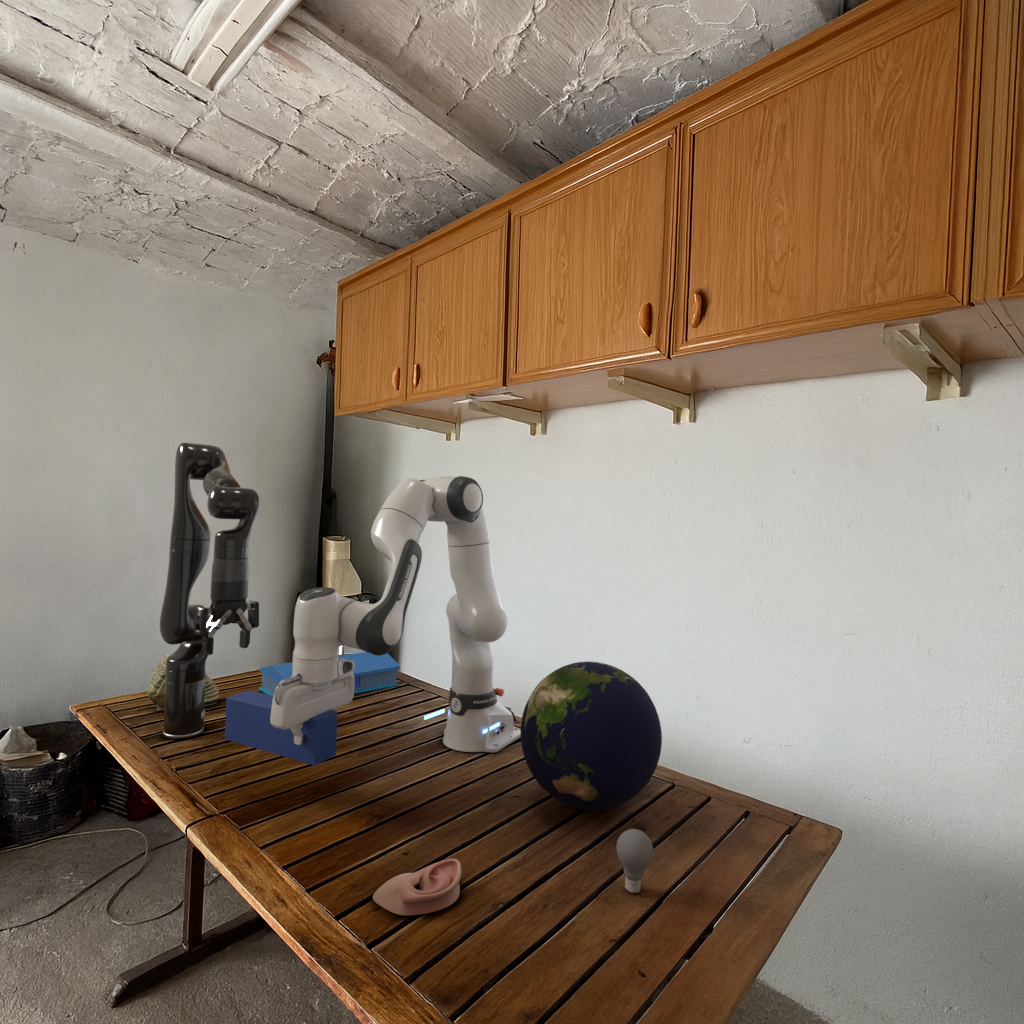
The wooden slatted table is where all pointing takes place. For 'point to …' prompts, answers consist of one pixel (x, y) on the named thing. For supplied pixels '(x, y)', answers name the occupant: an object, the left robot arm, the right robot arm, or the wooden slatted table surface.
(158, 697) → the fossil
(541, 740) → the globe
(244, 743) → the box
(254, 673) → the wooden slatted table surface
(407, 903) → the anatomical model
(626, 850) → the light bulb
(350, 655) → the model building
